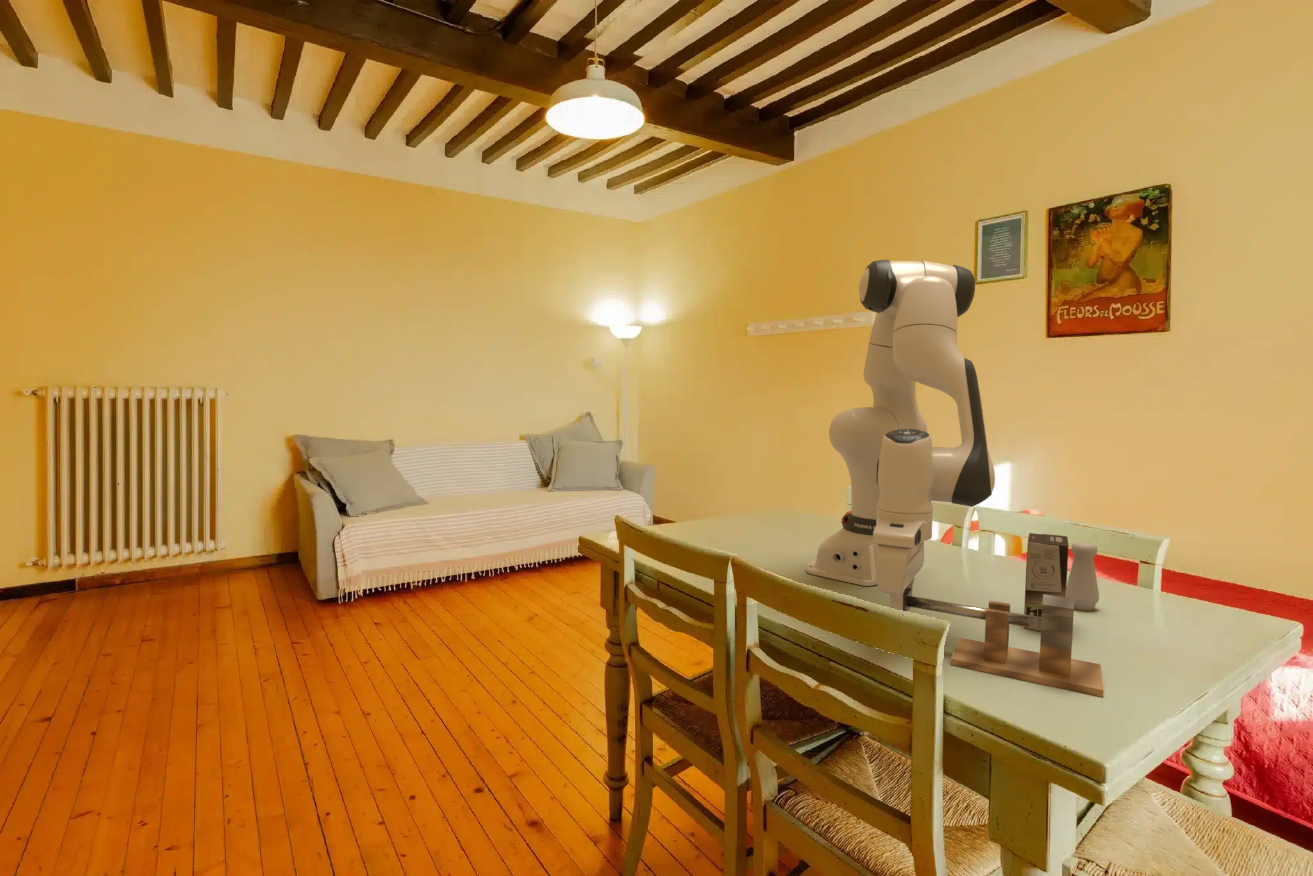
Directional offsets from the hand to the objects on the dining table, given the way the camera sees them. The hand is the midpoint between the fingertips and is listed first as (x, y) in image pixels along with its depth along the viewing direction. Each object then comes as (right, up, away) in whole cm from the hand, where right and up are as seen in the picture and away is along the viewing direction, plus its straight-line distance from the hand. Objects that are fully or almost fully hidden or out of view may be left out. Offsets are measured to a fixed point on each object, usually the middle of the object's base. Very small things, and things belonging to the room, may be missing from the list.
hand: (901, 605), depth 111 cm
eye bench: (+16, -7, -9) cm, 20 cm away
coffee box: (+30, -6, +9) cm, 32 cm away
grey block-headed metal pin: (+7, -1, -5) cm, 9 cm away
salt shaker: (+42, -5, +18) cm, 46 cm away
